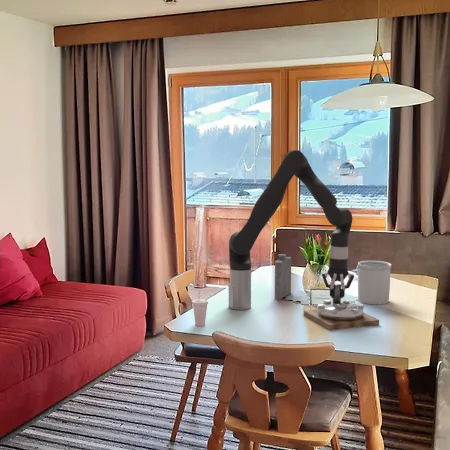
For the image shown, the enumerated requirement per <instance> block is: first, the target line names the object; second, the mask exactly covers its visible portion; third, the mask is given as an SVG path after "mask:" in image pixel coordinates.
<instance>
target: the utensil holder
mask: <svg viewBox="0 0 450 450" xmlns="http://www.w3.org/2000/svg"><path fill="white" fill-rule="evenodd" d="M357 266H358V275H357V276H358V277H357V278H358V279H357V292H358V295H357V297H358V298H357V299H358V301H359V302H361V303H362V304H367V305H385V304H388V303H389V302H390V290H391V287H390V286H391V273H392V272H391V270H392V263H390V262H387V261H382V260H361V261H358V262H357Z"/></svg>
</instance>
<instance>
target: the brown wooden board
mask: <svg viewBox="0 0 450 450" xmlns="http://www.w3.org/2000/svg"><path fill="white" fill-rule="evenodd" d="M303 316H305V317H306V318H308V319H309V320H311V321H313V322H315V323H316V324H318V325H320V326H322V327H323V328H325V329H326V330H328V331H333V330H334V331H335V330H342V329H344V330H345V329H353V328H354V327H355V328H362V327H371V326H372V327H373V326H379V325H380V319H378V318H376V317H374V316H372V315H370V314H368V313H365V312H364V311H363V317H362V318H360V319H356V320H333V319H327V318H324V317H321V316H320V315H319V314H318V308H316V309H307V310H303Z"/></svg>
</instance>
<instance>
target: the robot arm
mask: <svg viewBox="0 0 450 450" xmlns="http://www.w3.org/2000/svg"><path fill="white" fill-rule="evenodd" d="M294 176H295V177H296V178H298V179H299V180H300V182H302V183H303V185H305V187H306V189H307V190H308V191H309V193H310V194H311V196H312V197H313V199H314V200H315V201H316V202H317V204H318V205H319V207H320V208H321V210H322V212H323V214H324V216H325V218H326V219H327V222H329V223H330V225H332V226H334V227H335V230H334V231H333V232H331V234H330V247H329V257H328V258H329V260H328V270H327V271H326V272H322V273H321V277H322V280H323V282H324V286H325V288H326V289H327V288H328V289H329V297H330V298H331V299H333V291H334V289H333V286H334V284H336V282H340V284H341V299H343V298H344V297H345V295H346V294H345V292H346V289H350V288H351V285H352V283H353V280H354V278H355V275H354V273H350V272H349V271H348V268H349V267H348V264H349V263H348V262H349V246H348V245H349V234H350V231H351V228H352V224H353V215H352V212H351V210H350V209H348V208H344V207H343V208H338V206H337V203H338V201H337V200H338V199H337V198H336V196H335V195H334V194H333V193H332V191H331V190H330V189H329V188H328V186H326V184H324V183H323V181H322V180H320V179H319V177H318V176H317V175H316V173H315V171H314V170H313V168H312V167H311V165H310V163H309V161H308V158H307V157H306V155H304V153H303V152H302V151H301V150H298V149H293V150H290V151H289V152H287V154H286V155H284V158H283V160H282V162H281V163H280V165H279V166H278V168H277V170H276V172H275V174H274V176H273V177H272V179H271V180H270V181H269V182H268V184H267V186H266V187H265V189H264V190H263V191H262V193H261V194H260V195H259V197H258V199H257V200H256V201H255V204H254V205H253V208H252V209H251V213H250V215H249V218H248V220H247V221H246V223H245V224H244V226H243V227H242V228H241V229H240V230H239V231H236V232H234V233H232V235H230V237H229V242H228V243H229V244H228V250H229V251H228V253H229V255H228V256H229V257H228V258H229V285H228V307H229V308H230V309H231V310H238V311H239V310H240V311H242V310H243V311H244V310H250V309H251V308H252V261H251V251H252V249H253V247H254V245H255V243H256V241H257V239H258V237H259V235H260V233H261V232H262V230H263V229H264V228H265V227H266V226H267V224H268V222H269V221H271V219H272V217H273V215H274V214H275V213H276V212H277V210H278V209H279V207H280V206H281V205H282V202H283V200H284V197H285V194H286V190H287V188H288V186H289V183H290V182H291V180H292V179H293V177H294ZM328 276H329V277H330V284H329V283H328V280H327V279H328ZM347 277H348V280H347V282H346V284H345V281H344V280H346V278H347Z"/></svg>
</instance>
